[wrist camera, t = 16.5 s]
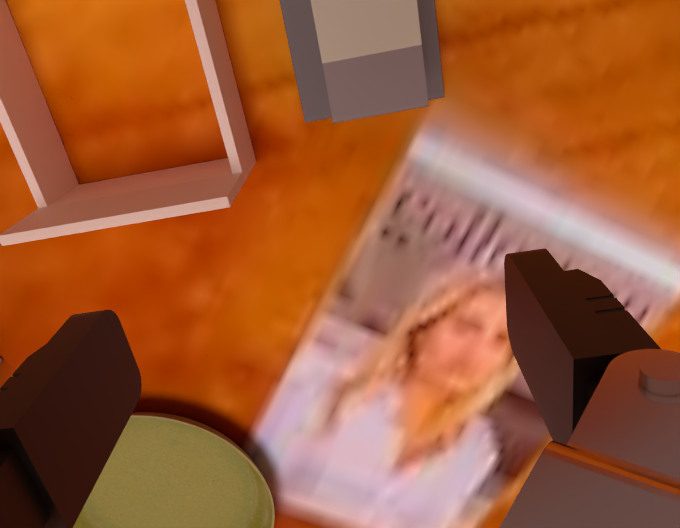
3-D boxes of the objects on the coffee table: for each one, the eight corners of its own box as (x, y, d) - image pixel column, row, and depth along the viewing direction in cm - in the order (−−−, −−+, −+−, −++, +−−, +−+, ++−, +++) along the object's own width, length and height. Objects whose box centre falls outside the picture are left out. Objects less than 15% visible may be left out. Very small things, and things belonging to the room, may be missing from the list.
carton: (195, -78, 32) (142, -102, 24) (256, 161, 38) (230, 207, 30) (-17, -30, 33) (-136, -38, 25) (74, 194, 39) (2, 245, 31)
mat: (420, -126, 31) (421, -128, 30) (443, 95, 36) (444, 97, 35) (262, -91, 32) (260, -92, 31) (305, 120, 37) (305, 122, 36)
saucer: (284, 559, 56) (280, 589, 53) (79, 557, 56) (64, 587, 53) (271, 392, 47) (266, 418, 44) (28, 391, 47) (7, 417, 45)
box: (392, -100, 31) (403, -124, 25) (415, 86, 35) (428, 106, 29) (304, -80, 31) (292, -99, 25) (336, 100, 36) (333, 123, 29)
